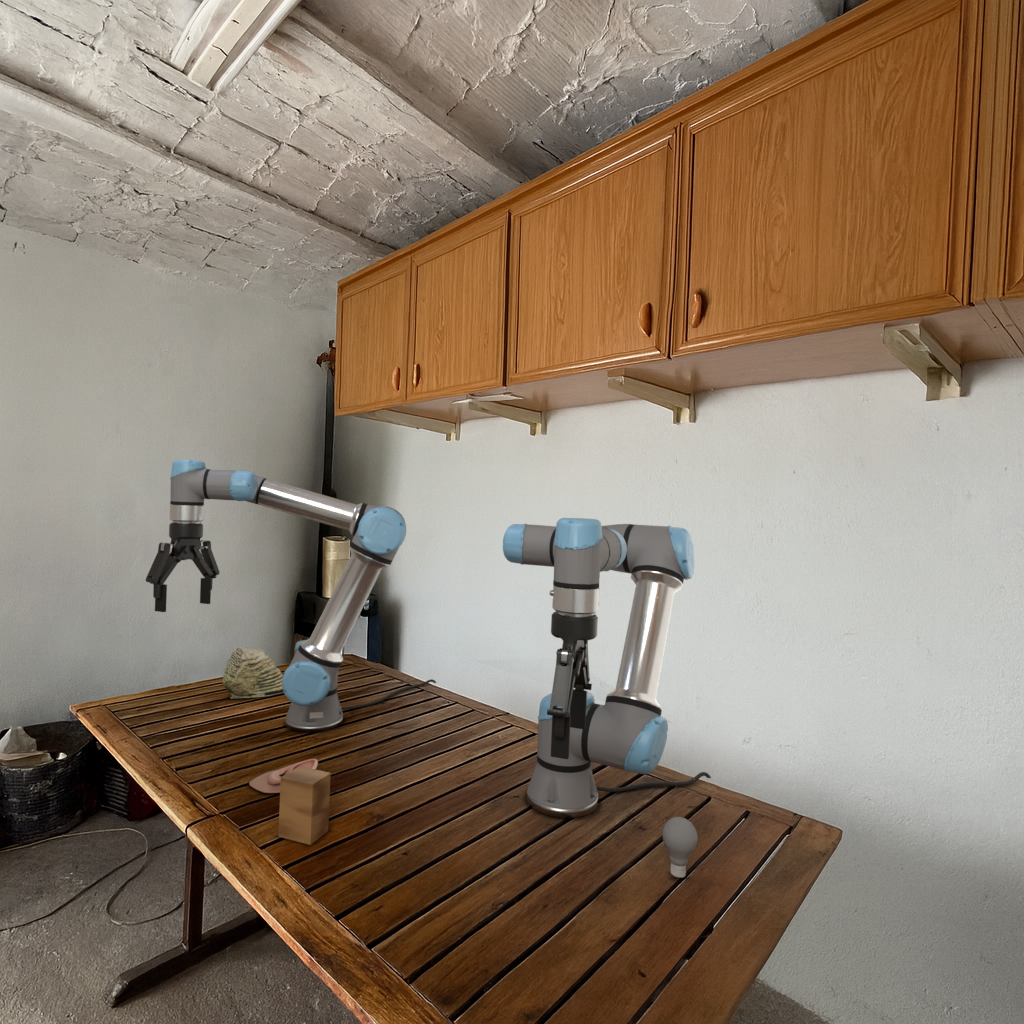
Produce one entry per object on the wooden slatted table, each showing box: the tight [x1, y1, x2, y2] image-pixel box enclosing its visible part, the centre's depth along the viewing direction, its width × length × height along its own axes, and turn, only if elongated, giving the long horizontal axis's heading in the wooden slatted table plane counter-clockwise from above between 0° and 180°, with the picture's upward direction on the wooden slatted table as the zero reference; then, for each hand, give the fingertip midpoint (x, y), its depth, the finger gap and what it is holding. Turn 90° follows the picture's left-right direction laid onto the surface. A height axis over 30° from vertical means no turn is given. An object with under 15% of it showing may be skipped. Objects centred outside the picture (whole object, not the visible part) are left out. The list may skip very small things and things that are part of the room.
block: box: [278, 766, 332, 846], centre depth 119 cm, size 6×7×11 cm
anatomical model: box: [248, 758, 319, 794], centre depth 139 cm, size 13×4×12 cm
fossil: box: [222, 646, 284, 699], centre depth 198 cm, size 9×18×15 cm, turn 132°
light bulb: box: [661, 816, 699, 879], centre depth 110 cm, size 6×6×10 cm
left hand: (183, 607), depth 158 cm, fingers open, 13 cm apart
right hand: (569, 741), depth 104 cm, fingers open, 13 cm apart
